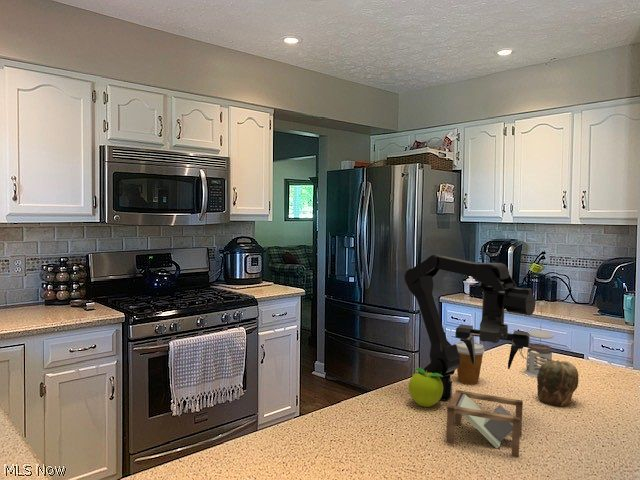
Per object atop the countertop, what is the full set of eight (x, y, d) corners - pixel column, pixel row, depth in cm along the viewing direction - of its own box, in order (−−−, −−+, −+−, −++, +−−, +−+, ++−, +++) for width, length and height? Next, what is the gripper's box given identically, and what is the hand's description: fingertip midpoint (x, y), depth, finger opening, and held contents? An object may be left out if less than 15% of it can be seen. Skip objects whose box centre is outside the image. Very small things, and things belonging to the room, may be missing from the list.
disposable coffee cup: (477, 376, 168) (478, 341, 168) (487, 386, 159) (489, 349, 158) (449, 376, 168) (450, 341, 167) (458, 386, 158) (459, 348, 158)
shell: (582, 410, 141) (584, 368, 140) (540, 406, 143) (542, 365, 142) (571, 396, 151) (573, 357, 151) (532, 393, 154) (534, 354, 153)
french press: (559, 379, 167) (563, 305, 166) (524, 378, 168) (527, 304, 166) (546, 370, 177) (550, 299, 176) (513, 369, 177) (516, 299, 176)
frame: (446, 442, 119) (447, 407, 119) (455, 422, 131) (456, 389, 130) (518, 457, 112) (520, 419, 112) (521, 434, 124) (522, 400, 124)
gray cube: (483, 425, 119) (498, 412, 118) (485, 417, 124) (499, 404, 122) (500, 441, 118) (515, 428, 116) (501, 433, 122) (516, 420, 121)
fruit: (420, 396, 149) (421, 363, 148) (448, 405, 142) (449, 370, 142) (401, 404, 142) (402, 369, 142) (430, 414, 136) (431, 377, 135)
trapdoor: (455, 407, 120) (458, 405, 119) (461, 395, 128) (464, 392, 128) (496, 449, 116) (499, 446, 116) (500, 433, 124) (503, 430, 124)
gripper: (452, 310, 133) (450, 368, 134) (529, 318, 125) (526, 380, 126) (460, 304, 143) (457, 358, 144) (530, 311, 135) (528, 368, 136)
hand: (490, 366), depth 137 cm, fingers open, 9 cm apart
